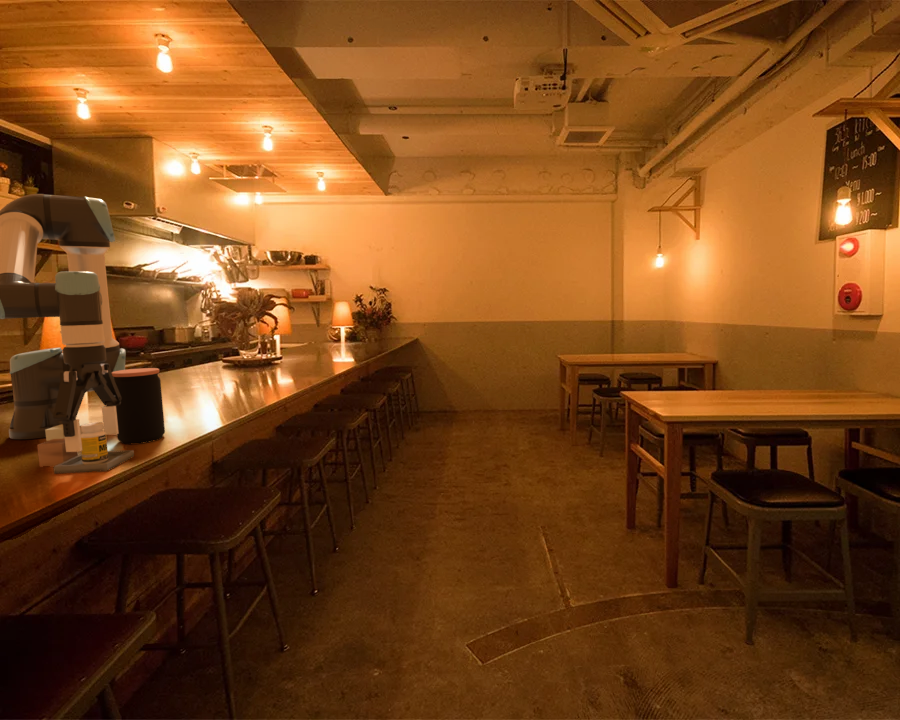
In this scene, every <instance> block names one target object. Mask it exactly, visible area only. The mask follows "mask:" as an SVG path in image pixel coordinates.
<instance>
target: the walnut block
mask: <svg viewBox="0 0 900 720" xmlns="http://www.w3.org/2000/svg"><path fill="white" fill-rule="evenodd" d="M36 446H37V454H38V455H37V456H38V463H39V467H40V468H44V467H43V466H50V467H54V466H56V465H58V464H60V463H63V462H65V461H67V460H69V459H71V458H74V457H76V456H78V455H79V451H78V452H66V446H65V439H52V440H49V441H46V440H45V441H44V442H42V443H39V444H37V445H36Z"/></svg>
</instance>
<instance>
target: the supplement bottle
mask: <svg viewBox="0 0 900 720" xmlns="http://www.w3.org/2000/svg"><path fill="white" fill-rule="evenodd" d="M80 426H81V432H83V433H82V434H81V442H82V451H80V452H81V453H80V454H82V463H83V464H96V463H103V462H105V461H107V460H108V441H107V440H108V439H107V435H106V432H105V431H104V425H103V421H102V422H101V421H100V422H99V421H94V422H88V423H83V424H81V425H80Z"/></svg>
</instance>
